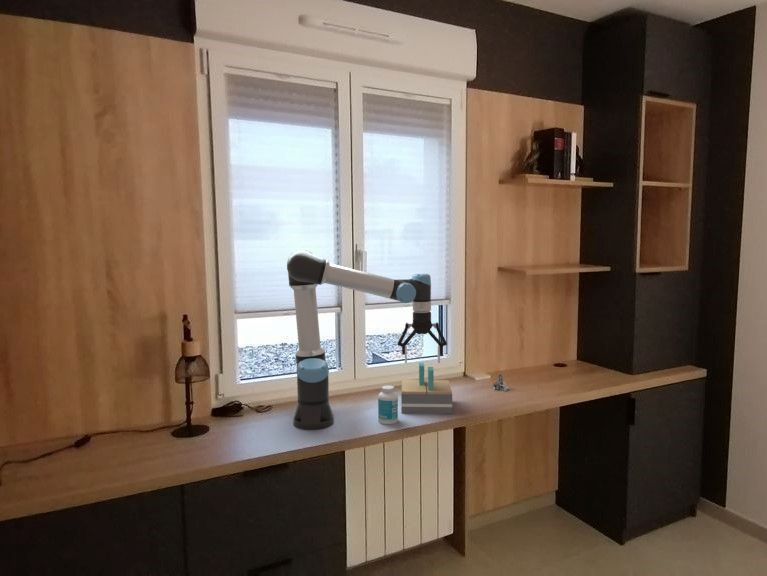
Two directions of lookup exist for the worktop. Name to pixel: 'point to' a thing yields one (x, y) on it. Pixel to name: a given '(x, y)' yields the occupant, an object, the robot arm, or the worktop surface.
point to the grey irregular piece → (500, 384)
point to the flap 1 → (415, 383)
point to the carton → (426, 403)
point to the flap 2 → (437, 384)
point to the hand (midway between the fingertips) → (422, 362)
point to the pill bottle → (387, 406)
